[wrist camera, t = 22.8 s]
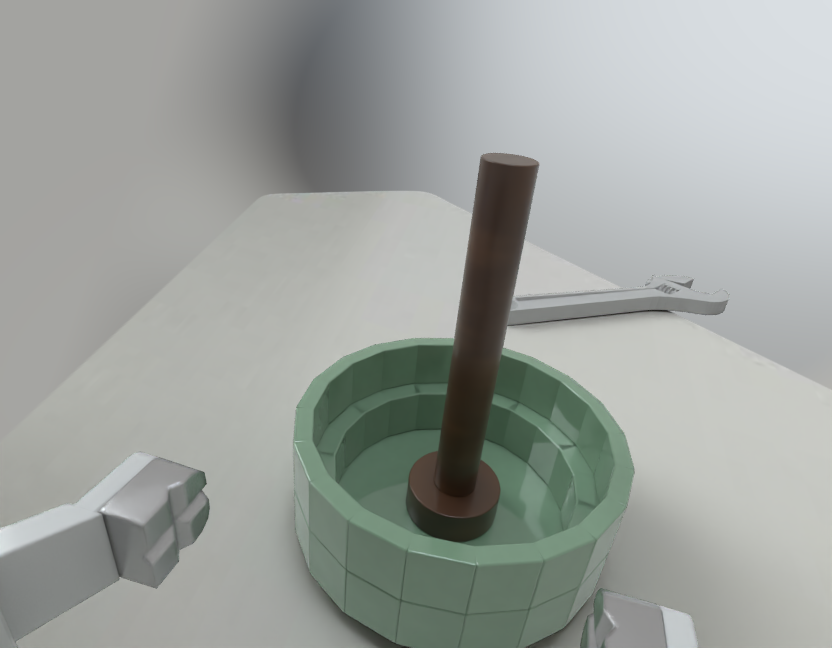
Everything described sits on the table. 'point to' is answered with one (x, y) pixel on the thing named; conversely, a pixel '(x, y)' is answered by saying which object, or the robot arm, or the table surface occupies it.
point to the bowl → (516, 512)
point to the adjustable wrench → (618, 301)
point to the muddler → (476, 358)
